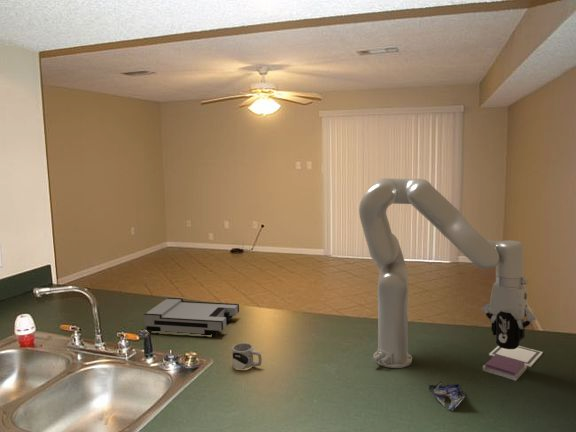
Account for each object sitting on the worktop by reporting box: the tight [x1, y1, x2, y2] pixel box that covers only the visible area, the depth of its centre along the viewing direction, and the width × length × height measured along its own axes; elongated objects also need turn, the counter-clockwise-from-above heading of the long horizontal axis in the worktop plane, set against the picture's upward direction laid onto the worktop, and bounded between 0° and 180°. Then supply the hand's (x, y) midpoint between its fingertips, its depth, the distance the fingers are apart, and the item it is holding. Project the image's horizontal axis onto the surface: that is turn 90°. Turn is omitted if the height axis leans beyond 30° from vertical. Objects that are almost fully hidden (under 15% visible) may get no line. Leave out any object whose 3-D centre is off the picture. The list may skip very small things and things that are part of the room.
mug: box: [231, 342, 263, 369], centre depth 152 cm, size 10×7×7 cm, turn 70°
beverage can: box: [495, 310, 520, 349], centre depth 144 cm, size 7×7×12 cm
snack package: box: [428, 380, 467, 412], centre depth 130 cm, size 12×6×12 cm
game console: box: [143, 297, 240, 335], centre depth 187 cm, size 21×32×8 cm, turn 78°
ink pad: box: [482, 355, 528, 382], centre depth 146 cm, size 10×10×2 cm
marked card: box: [488, 345, 544, 368], centre depth 156 cm, size 13×13×1 cm
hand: (507, 336), depth 144 cm, fingers closed on beverage can, 6 cm apart
